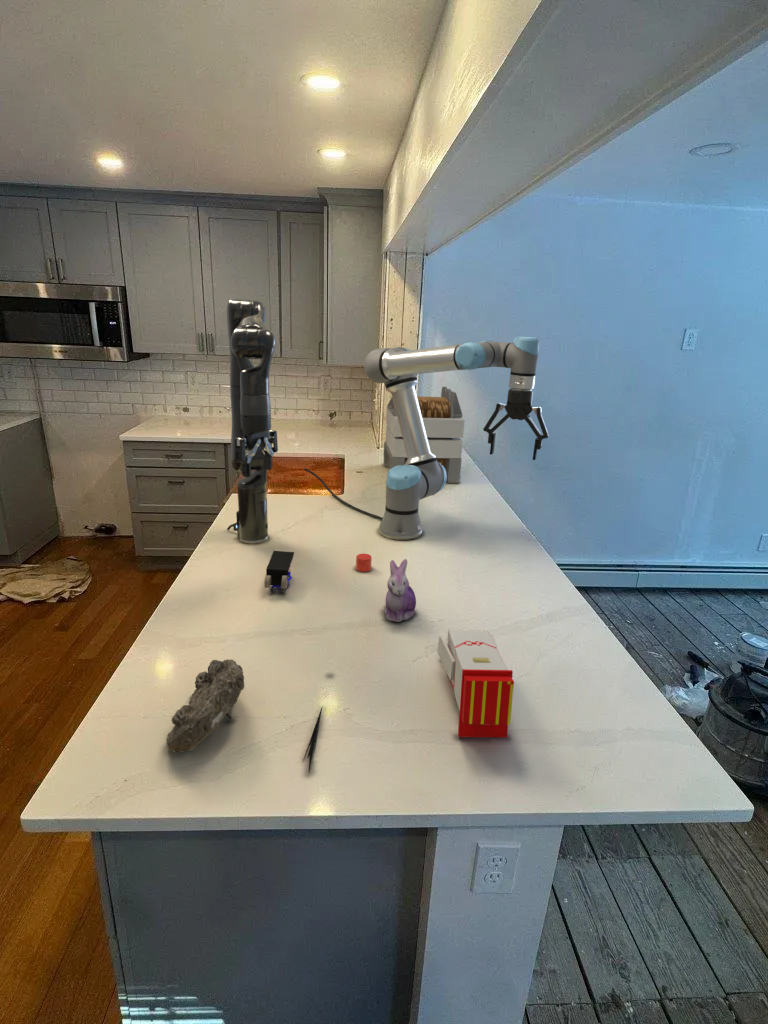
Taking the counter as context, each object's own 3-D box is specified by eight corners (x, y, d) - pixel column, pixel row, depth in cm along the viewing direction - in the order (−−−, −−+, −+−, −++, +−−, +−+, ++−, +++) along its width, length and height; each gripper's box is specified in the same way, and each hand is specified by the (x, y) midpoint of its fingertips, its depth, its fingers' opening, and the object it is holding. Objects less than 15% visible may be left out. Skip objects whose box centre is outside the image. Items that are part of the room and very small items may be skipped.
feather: (331, 679, 122) (336, 673, 122) (307, 777, 96) (313, 769, 95) (324, 675, 122) (329, 669, 121) (298, 772, 95) (304, 764, 95)
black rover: (288, 601, 154) (295, 571, 167) (287, 577, 151) (294, 549, 164) (263, 600, 154) (272, 570, 167) (262, 576, 150) (271, 548, 164)
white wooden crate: (382, 463, 289) (386, 382, 275) (445, 464, 293) (451, 384, 279) (390, 482, 257) (394, 392, 243) (460, 483, 261) (468, 394, 247)
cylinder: (353, 567, 173) (353, 555, 171) (366, 564, 175) (366, 552, 174) (360, 573, 169) (361, 560, 168) (373, 570, 172) (374, 558, 170)
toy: (488, 613, 130) (523, 677, 101) (484, 667, 133) (517, 744, 104) (435, 612, 130) (455, 676, 101) (432, 666, 133) (451, 743, 103)
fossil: (192, 660, 117) (244, 628, 112) (224, 691, 120) (276, 661, 115) (142, 746, 98) (202, 712, 93) (182, 779, 101) (242, 748, 96)
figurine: (392, 627, 141) (395, 572, 136) (374, 608, 149) (376, 556, 144) (425, 619, 145) (429, 566, 140) (405, 601, 154) (408, 550, 149)
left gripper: (262, 406, 151) (263, 465, 157) (224, 413, 139) (227, 476, 145) (284, 409, 148) (285, 469, 153) (248, 417, 136) (250, 482, 141)
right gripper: (478, 387, 175) (471, 453, 183) (561, 394, 167) (551, 464, 174) (483, 384, 182) (477, 449, 189) (563, 391, 174) (553, 458, 181)
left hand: (257, 473), depth 149 cm, fingers open, 8 cm apart
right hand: (512, 456), depth 182 cm, fingers open, 13 cm apart
